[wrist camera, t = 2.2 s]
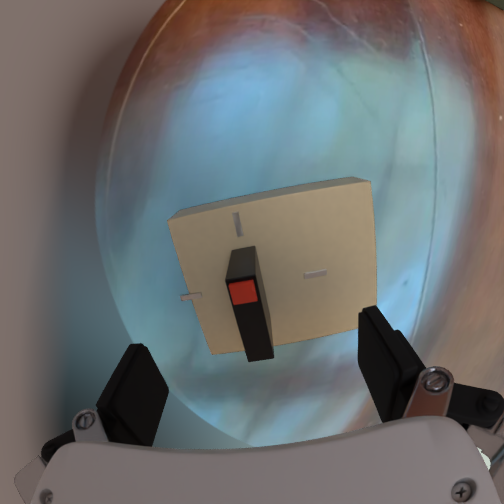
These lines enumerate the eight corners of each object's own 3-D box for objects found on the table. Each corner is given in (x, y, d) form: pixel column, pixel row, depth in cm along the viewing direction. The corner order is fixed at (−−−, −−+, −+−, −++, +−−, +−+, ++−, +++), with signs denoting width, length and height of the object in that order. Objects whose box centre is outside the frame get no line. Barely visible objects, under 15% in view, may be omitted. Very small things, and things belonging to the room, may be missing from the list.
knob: (270, 317, 17) (274, 361, 13) (249, 321, 18) (248, 365, 14) (255, 245, 16) (255, 276, 12) (231, 249, 16) (223, 282, 12)
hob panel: (209, 332, 22) (203, 357, 19) (171, 212, 18) (156, 223, 15) (362, 303, 21) (376, 325, 18) (353, 176, 17) (371, 181, 14)
